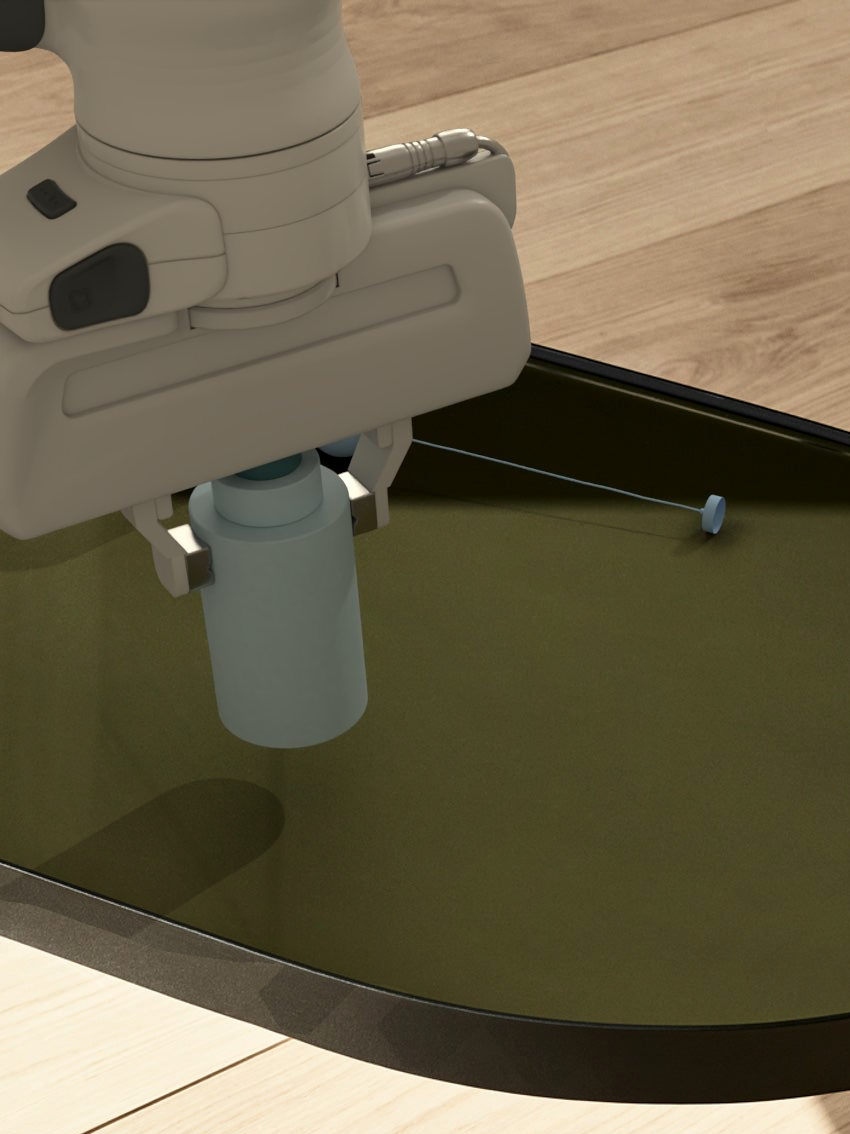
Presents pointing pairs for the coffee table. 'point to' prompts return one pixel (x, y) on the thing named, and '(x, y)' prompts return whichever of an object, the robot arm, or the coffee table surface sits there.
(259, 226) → the robot arm
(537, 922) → the coffee table surface
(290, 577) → the bottle
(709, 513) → the ball ended pin
